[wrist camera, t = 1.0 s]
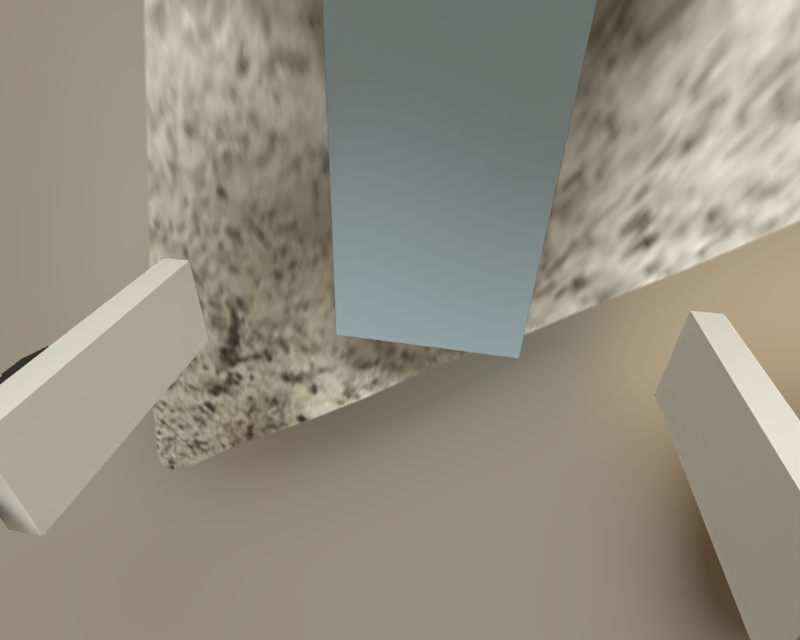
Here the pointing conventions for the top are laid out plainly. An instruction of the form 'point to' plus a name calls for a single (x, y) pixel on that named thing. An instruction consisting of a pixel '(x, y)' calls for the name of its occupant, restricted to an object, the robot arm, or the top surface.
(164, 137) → the top surface
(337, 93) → the light blue block
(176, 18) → the top surface
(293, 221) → the top surface
